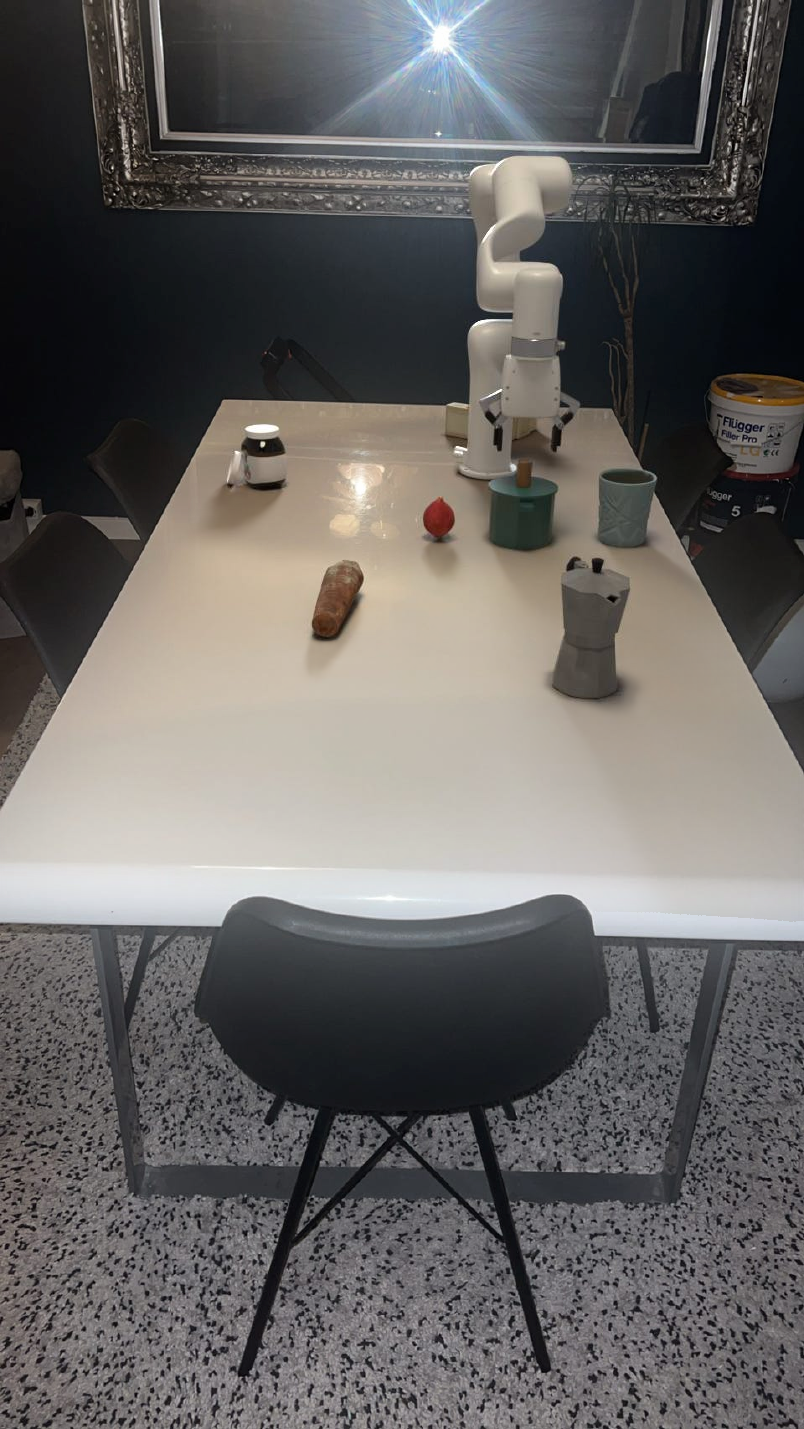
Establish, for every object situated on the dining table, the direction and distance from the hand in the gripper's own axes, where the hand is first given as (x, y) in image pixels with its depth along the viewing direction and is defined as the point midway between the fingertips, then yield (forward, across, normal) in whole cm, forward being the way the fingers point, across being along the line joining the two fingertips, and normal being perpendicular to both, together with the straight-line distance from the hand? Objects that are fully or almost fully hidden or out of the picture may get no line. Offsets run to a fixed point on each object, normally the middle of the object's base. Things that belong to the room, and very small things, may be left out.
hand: (526, 450), depth 182 cm
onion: (+17, +15, 0) cm, 22 cm away
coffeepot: (+18, -3, +56) cm, 58 cm away
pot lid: (+7, 0, 0) cm, 7 cm away
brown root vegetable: (+17, +31, +35) cm, 50 cm away
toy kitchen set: (+16, 0, -77) cm, 79 cm away
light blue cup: (+17, -18, -1) cm, 25 cm away
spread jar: (+16, +53, -32) cm, 64 cm away
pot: (+16, 0, -1) cm, 17 cm away
